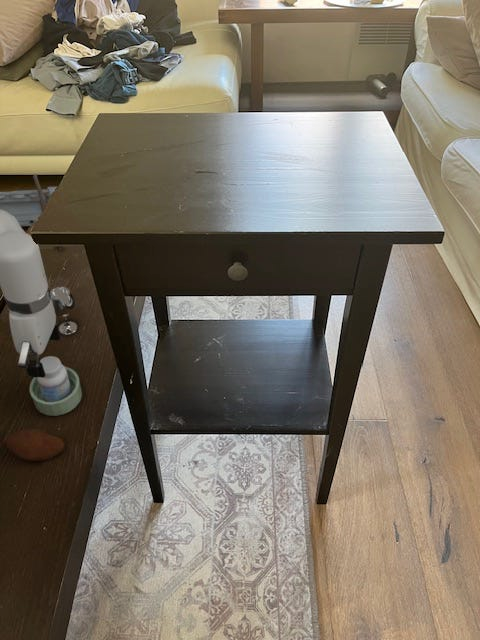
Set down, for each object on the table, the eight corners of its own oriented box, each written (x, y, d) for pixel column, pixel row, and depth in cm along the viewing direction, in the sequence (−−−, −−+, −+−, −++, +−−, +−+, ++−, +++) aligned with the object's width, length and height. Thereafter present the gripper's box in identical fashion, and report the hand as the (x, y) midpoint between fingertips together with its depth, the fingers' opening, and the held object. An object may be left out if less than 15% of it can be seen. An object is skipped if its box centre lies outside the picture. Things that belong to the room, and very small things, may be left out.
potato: (61, 467, 99) (55, 450, 95) (3, 464, 99) (-6, 447, 94) (69, 441, 104) (64, 423, 99) (14, 438, 103) (6, 420, 99)
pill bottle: (37, 397, 110) (26, 366, 101) (59, 380, 113) (50, 348, 105) (56, 412, 107) (46, 380, 99) (78, 394, 111) (70, 362, 103)
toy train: (71, 189, 147) (72, 179, 160) (-30, 193, 141) (-20, 182, 154) (76, 225, 152) (77, 213, 165) (-22, 231, 146) (-13, 217, 159)
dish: (27, 415, 107) (22, 401, 103) (43, 377, 114) (38, 363, 111) (75, 419, 107) (71, 406, 104) (87, 381, 114) (84, 368, 111)
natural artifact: (68, 247, 148) (60, 251, 150) (37, 174, 145) (29, 179, 147) (58, 249, 144) (50, 253, 146) (27, 174, 141) (19, 180, 144)
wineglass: (64, 340, 122) (56, 305, 114) (51, 327, 125) (41, 292, 116) (84, 328, 126) (77, 294, 117) (71, 316, 128) (63, 281, 120)
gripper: (23, 262, 94) (40, 323, 107) (-13, 329, 82) (10, 389, 95) (63, 267, 95) (75, 327, 107) (32, 334, 83) (50, 393, 95)
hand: (45, 356), depth 101 cm, fingers open, 9 cm apart
